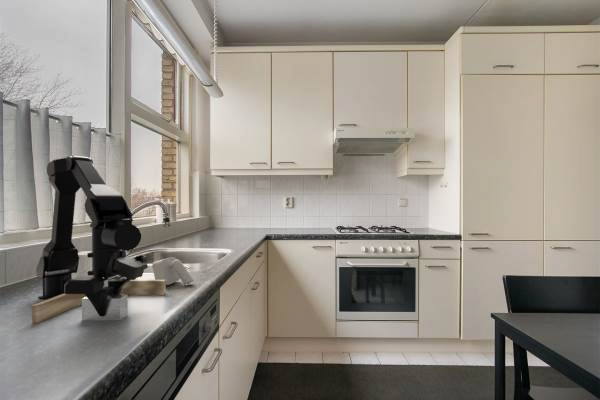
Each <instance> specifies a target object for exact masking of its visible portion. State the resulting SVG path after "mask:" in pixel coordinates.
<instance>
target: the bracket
mask: <svg viewBox="0 0 600 400" xmlns="http://www.w3.org/2000/svg"><path fill="white" fill-rule="evenodd" d="M128 296H129V295H107V306H106V314H105V316H99V314H98V313H97V311H96V310H95V308H94V306H93V305H92V303H91V302H90V300H89V299H88V298H87V297H84V298H82V304H81V321H121V320H123V319H125V318H126V317H128V316H129V312H128V311H129V309H128V308H129V307H128V306H129V305H128V304H129V303H128V302H129V301H128V298H129V297H128Z"/></svg>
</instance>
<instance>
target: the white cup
mask: <svg viewBox="0 0 600 400" xmlns="http://www.w3.org/2000/svg"><path fill="white" fill-rule="evenodd" d="M90 252H92V250H87V251H86V250H85V251H84V250H83V251H78V256H79V264H78V270H77V273H72V279H74V278H77V277H80V276H88V271H90V270H92V258H88V253H90Z"/></svg>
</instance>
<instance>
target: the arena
mask: <svg viewBox="0 0 600 400" xmlns="http://www.w3.org/2000/svg"><path fill="white" fill-rule="evenodd" d="M166 287H167V285H166V280H155V279H135V280H130V281H129V282H127V283H126V284H125V285H124V286H123V287H122V290H121V292H120V295H128V296H129V295H132V296H133V295H138V296H139V295H142V296H143V295H147V296H148V295H151V296H152V295H158V296H159V295H162V296H163V295H165V294H166V291H167V288H166ZM84 297H86V295H85V294H65V293H64V294H62V295H59V296H56V297H53V298H51V299H45V300H43V301H41V302H38V303H36V304H32V305H31V318H32V321H31V322H32V324H40V323H42V322H45V321H47V320H49V319H52V318H53V317H56V316H58V315H60V314H62V313H65V312H66V311H70V310H72V309H73V308H76V307H78V306H79V305H80V306H81V305H82V298H84Z"/></svg>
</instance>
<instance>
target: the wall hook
mask: <svg viewBox="0 0 600 400" xmlns="http://www.w3.org/2000/svg"><path fill="white" fill-rule="evenodd" d="M151 266H152V267H151V268H152V272H153V277H154V280H166V286H168V285H172V284H173V283H176V282H178V281H180V280H181V282H182V284H184V286H185V285H186V284H188V285H189V284H191V283H193V281H194V278H193V277H192V275H191V274H190V272H189V271H188V269H187V268H186V267H185V265H184V264H183V262H182V261H181V260H180V259H177V258H176V257H175V256H171V257H167V258H162V259H160V260H156V261H153V262H152V265H151ZM186 286H187V285H186Z"/></svg>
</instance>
